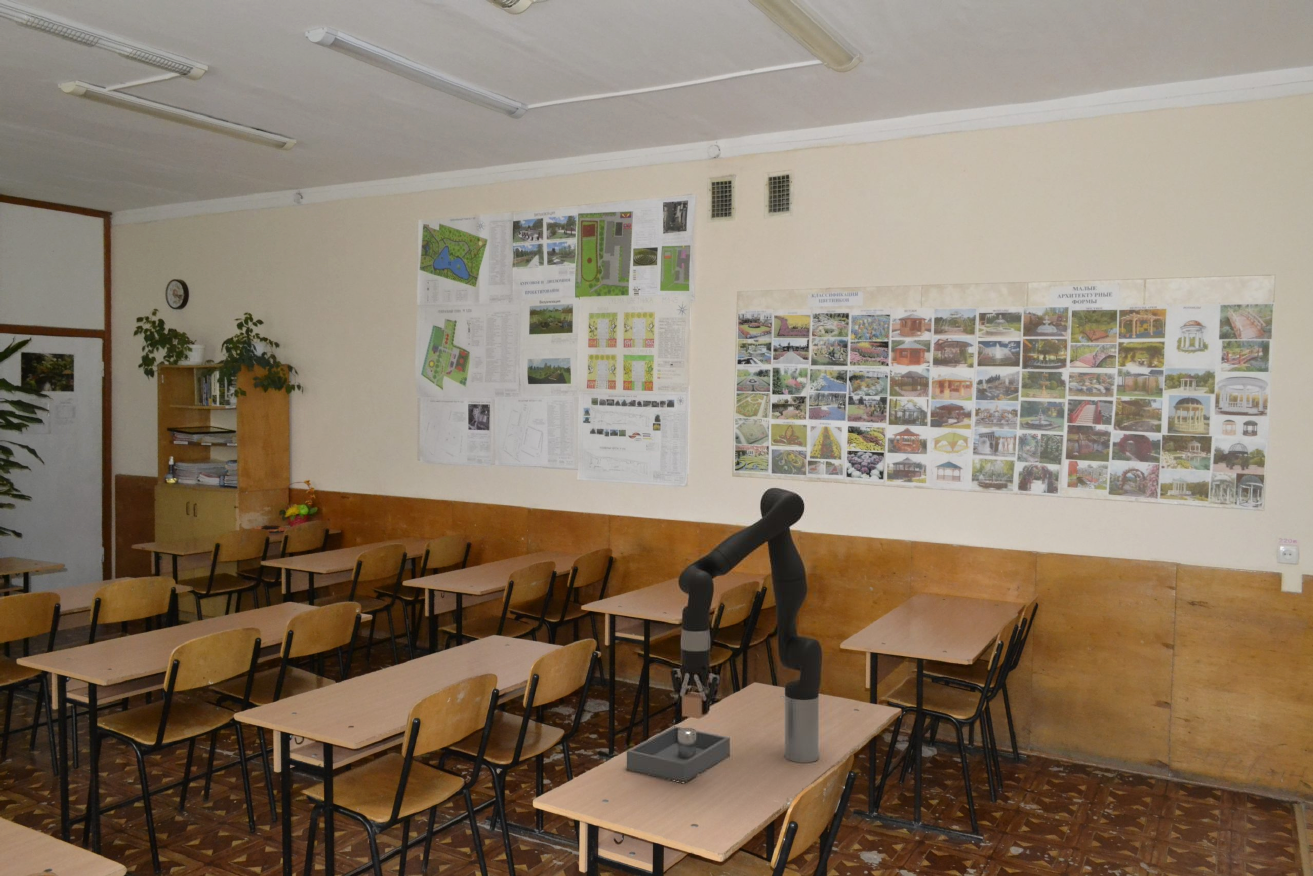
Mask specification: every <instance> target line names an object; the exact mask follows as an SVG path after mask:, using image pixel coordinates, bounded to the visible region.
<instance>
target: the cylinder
mask: <svg viewBox="0 0 1313 876" xmlns="http://www.w3.org/2000/svg"><path fill="white" fill-rule="evenodd" d="M696 731H697V730H696V729H695V728H693V727H681V729H679V730H678V757H679V758H681V759H690V758H692V757H694V756H695V755H696Z"/></svg>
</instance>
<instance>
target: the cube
mask: <svg viewBox="0 0 1313 876" xmlns="http://www.w3.org/2000/svg"><path fill="white" fill-rule="evenodd" d="M702 700H703V699H702V696H701V693H700V692H697V691H696V692H695V691H689V693H688V694H686V695H684V696H682V707H681V716H682V717H688V718H693V719H699V720H700V719H702V718H703V717H705V716H707V715H709V712H710V711H709V712H708V713H707V714H705V715H703V714H702Z"/></svg>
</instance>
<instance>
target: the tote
mask: <svg viewBox="0 0 1313 876" xmlns="http://www.w3.org/2000/svg"><path fill="white" fill-rule="evenodd" d="M681 728H682V727H680V726H675V725H674V726H672V727H669V728H668V729H666V730H664V731H662V732H661V733H658V734H656V735H655V736H653V737H651V738H649V739H647V740H645V741H643V742H641V743H640V744H637V745H636V746H634V747H632V748H630V749H628V750H626V770H627V769H629V770H628V771H630V770H633V771H632V772H634V771H637V772H636V773H638V772H641V773H640V774H642V773H645V774H644V775H646V774H650V775H653V776H652V777H654V776H656V777H655V778H658V777H660V778H659V779H662V778H665V779H664V780H666V779H670V780H675V781H679V782H684V783H686V782H687V781H689V780H690V781H692V780H693V779H692V778H694V777H695V778H697V777H698V776H699V775H698V774H700V773H701V774H703V773H705V772H706V771H708V770H710V769H711V768H713V767H714V766H716V765H718V764H719V763H721V762H723V761H724V760H725V759H727V758H729V757H730V756H731V753H730V752H731V737H728V736H724V735H719V734H714V733H710V732H709V733H708V732H705V731H699V730H696V755H695V756H694V757H692V758H690V759H681V758H679V757H678V730H679V729H681ZM712 766H713V767H712ZM707 769H708V770H707ZM705 770H706V771H705ZM704 771H705V772H704ZM702 772H703V773H702ZM701 774H700V775H701ZM650 775H649V776H650ZM697 775H698V776H697ZM696 776H697V777H696ZM695 778H694V779H695ZM691 779H692V780H691ZM670 780H669V781H670ZM690 781H689V782H690ZM679 782H678V783H679ZM687 783H688V782H687ZM687 783H686V784H687Z"/></svg>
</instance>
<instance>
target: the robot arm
mask: <svg viewBox="0 0 1313 876" xmlns="http://www.w3.org/2000/svg"><path fill="white" fill-rule="evenodd" d="M759 503H760V506H759V509H760V515H761V518H760V519H759V520H757V521H756V522H754V523H753V524H751V525H748V526H747V527H745V528H743V529H741V530H739V531H737V532H734V533H733V534H731V535H729V536H728V537H727V538H725V539H724V540H723V541H721V542H720V543H719V544H718V545H717V546H715V548H713V549H712V550H711V551H710V552H709V553H708V554H706V555H704V556H703V557H700V558H699V559H697V560H695V561H694V562H693V563H691V564H689V565H688V566H686V568H684V569H683V570H682V572H681V573H680V575H679V577H678V588H679V589H680V590H681V591H682V592H683V593H685V594H686V595H688V596H687V597H688V598H687V605H686V606H684V607H683V609H682V615H681V636H680V665H681V666H680V668H678V667H676V668H673V669H671V670H670V671H669V672H670V673H669V674H670V677H671V682H672V687H673V691H674V693H675V694H679V695H680V701H681V702H680V708H682V696H684V695H686V694H688V693H690V690H691V688H692V686H694V687H696V688H697V690H698V693H701V696H702V699H703V700H702V714H703V715H705V714H707V713H708V712H710V709H711V708H710V706H711V703H710V700H713V699H714V698H716V697H717V696H718V692H719V687H720V683H721V680H722V677H721V675H720V674H717V675H716V674H714V673H712V671H711V669H710V666H711V634H710V611H711V608H712V604H713V599H714V590H715V588H714V587H715V586H714V580H713V579H715V578H716V577H721V576H725V575H727V574H728V573H729V572H731V571H732V570H733V569H734V568H735V567H736V566H738V564H740V563H741V562H742V561H743V560H744V559H746V558H747V557H748V556H749V555H750V554H752V553H753V552H754V551H755V550H758V548H759V547H762V546H763V545H764V544H766V543H767V548H768V549H767V550H768V555H769V556H768V557H769V562H770V563H769V564H770V571H771V581H772V582H771V583H772V589H773V590H772V591H773V596H774V604H775V609H776V610H775V612H776V624H777V626H776V627H777V629H776V630H777V650H778V651H777V653H778V654H777V655H778V659H779V661H780V662H779V663H780V664H781V666H782V667H784V668H787V669H790V670H794V671H799V672H800V676H799V679H796V680H792V681H789V682H787V683H786V684H785V686H784V758H785V759H786V760H788V761H790V762H794V763H799V764H800V763H801V764H806V763H807V764H809V763H813V762H815V761H818V760H819V755H820V754H819V749H820V748H819V747H820V745H819V739H820V738H819V735H820V734H819V733H820V728H819V726H820V725H819V724H820V722H819V721H820V720H819V719H820V717H819V716H820V714H819V709H820V708H819V706H820V705H819V704H820V698H819V697H820V695H819V693H820V687H821V683H822V663H823V650H822V645H821V644H820V641H818V640H817V639H816V638H811V637H807V636H800V635H798V631H797V616H798V614H799V611H800V609H801V608H802V606H803V604H804V602H805V600H806V598H807V594H808V582H807V581H808V580H807V574H806V568H805V564H804V562H803V559H802V557H801V555H800V553H799V551H798V549H797V547H796V544H795V542H794V540H793V537H792V533H791V527H793V526H794V525H795V524H797V523H798V521H800V519H801V518H802V517H803V515H804V512H805V502H804V500H803V498H802V497H801V496H800V495H799V494H798V493H795V492H794V491H790V490H787V489H783V488H779V487H771V488H770V487H769V488H768V489H767V490H765V491H764V492H763V494H762V496H761V499H760V502H759ZM681 676H682V678H683V682H682V678H681ZM708 680H709V682H710V683H711V684H710V685H709V683H708ZM708 714H709V713H708ZM708 714H707V715H708ZM705 716H706V715H705Z"/></svg>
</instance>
